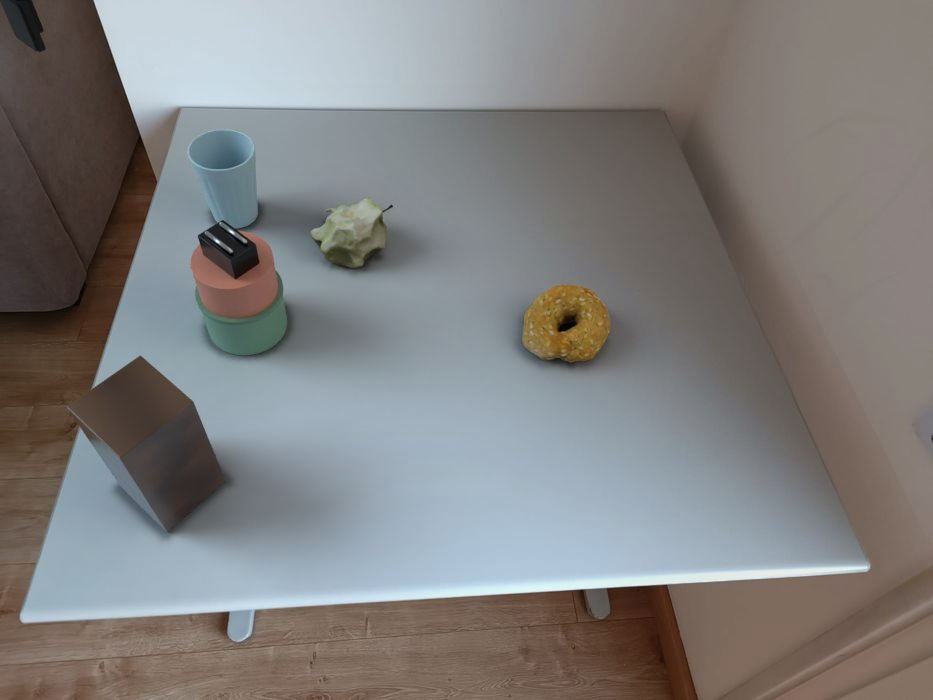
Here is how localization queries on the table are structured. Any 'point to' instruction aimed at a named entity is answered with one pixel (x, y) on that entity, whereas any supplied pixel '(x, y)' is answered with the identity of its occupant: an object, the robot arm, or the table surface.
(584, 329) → the bagel
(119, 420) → the clip stand
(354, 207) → the fruit
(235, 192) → the cup
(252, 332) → the cup stack
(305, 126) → the table surface
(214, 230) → the clip
